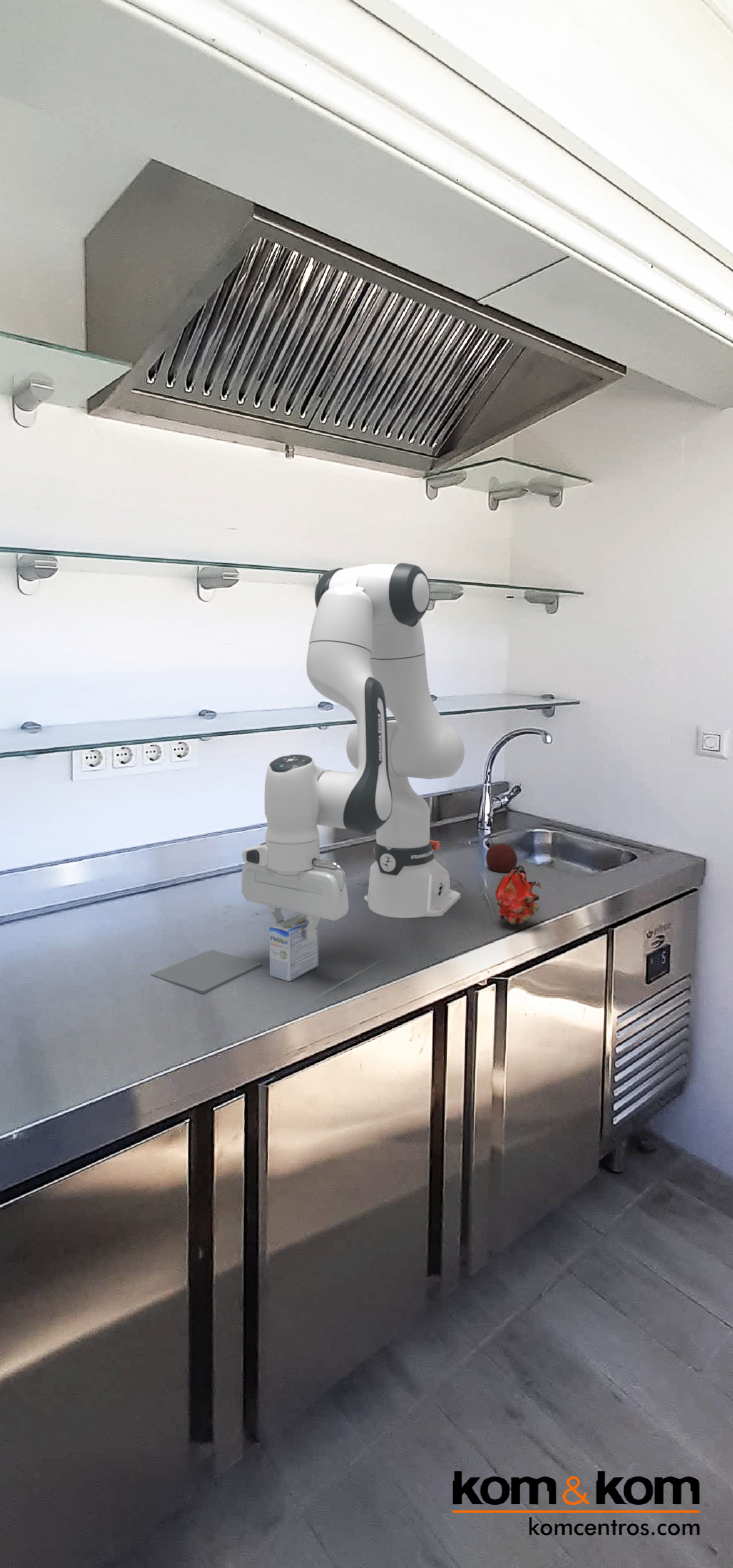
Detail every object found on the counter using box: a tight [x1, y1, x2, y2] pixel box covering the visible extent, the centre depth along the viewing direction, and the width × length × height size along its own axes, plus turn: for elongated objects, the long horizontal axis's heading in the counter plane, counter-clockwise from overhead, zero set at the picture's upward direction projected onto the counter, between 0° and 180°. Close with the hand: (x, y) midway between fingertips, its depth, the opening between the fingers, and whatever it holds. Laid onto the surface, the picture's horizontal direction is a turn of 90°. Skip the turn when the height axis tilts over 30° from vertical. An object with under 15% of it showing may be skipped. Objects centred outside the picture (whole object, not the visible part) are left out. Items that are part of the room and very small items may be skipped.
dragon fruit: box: [494, 865, 542, 926], centre depth 162 cm, size 8×8×12 cm
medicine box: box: [268, 914, 319, 982], centre depth 138 cm, size 8×4×9 cm, turn 146°
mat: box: [150, 949, 263, 995], centre depth 139 cm, size 14×12×1 cm
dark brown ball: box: [485, 843, 518, 873], centre depth 201 cm, size 7×8×7 cm
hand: (294, 934), depth 138 cm, fingers closed on medicine box, 4 cm apart
